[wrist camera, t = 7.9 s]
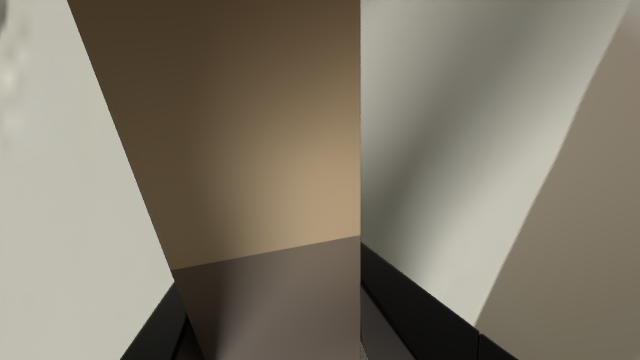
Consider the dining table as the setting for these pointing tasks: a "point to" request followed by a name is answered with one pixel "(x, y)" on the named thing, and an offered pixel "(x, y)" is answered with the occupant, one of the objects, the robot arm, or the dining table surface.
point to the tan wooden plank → (244, 161)
